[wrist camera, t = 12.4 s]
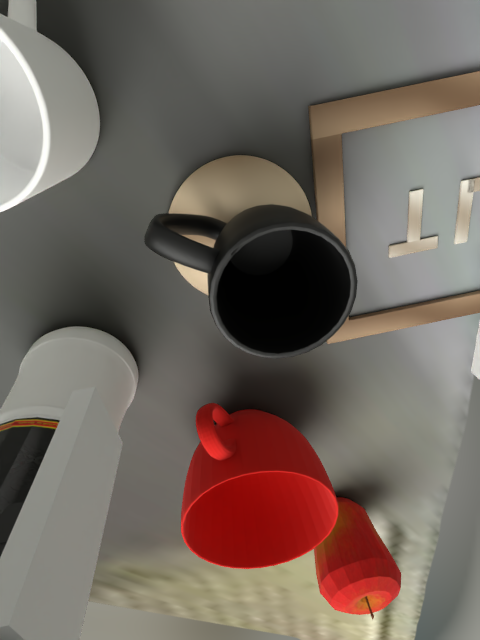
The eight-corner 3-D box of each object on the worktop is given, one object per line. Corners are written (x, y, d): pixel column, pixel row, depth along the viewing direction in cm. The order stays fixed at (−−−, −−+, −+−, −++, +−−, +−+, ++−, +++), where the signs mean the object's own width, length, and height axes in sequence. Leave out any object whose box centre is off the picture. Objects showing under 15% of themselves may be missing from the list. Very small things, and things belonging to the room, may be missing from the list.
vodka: (140, 324, 32) (-123, 1321, 6) (139, 408, 36) (-9, 1185, 10) (22, 317, 30) (-1057, 1598, 4) (36, 405, 35) (-448, 1299, 9)
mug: (185, 137, 25) (180, 150, 16) (332, 219, 28) (389, 264, 20) (140, 246, 28) (116, 303, 20) (277, 307, 31) (306, 377, 23)
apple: (290, 524, 48) (315, 638, 37) (320, 481, 44) (357, 594, 34) (347, 533, 50) (387, 642, 40) (380, 493, 46) (433, 601, 36)
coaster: (148, 172, 26) (147, 174, 25) (303, 140, 26) (305, 141, 25) (187, 309, 31) (187, 313, 31) (315, 283, 31) (317, 286, 31)
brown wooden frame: (308, 106, 25) (310, 106, 25) (617, 42, 25) (624, 41, 25) (326, 341, 34) (327, 343, 34) (550, 294, 34) (555, 297, 34)
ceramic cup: (266, 331, 33) (291, 409, 25) (323, 448, 41) (357, 538, 33) (138, 387, 35) (119, 479, 26) (218, 489, 43) (223, 585, 34)
